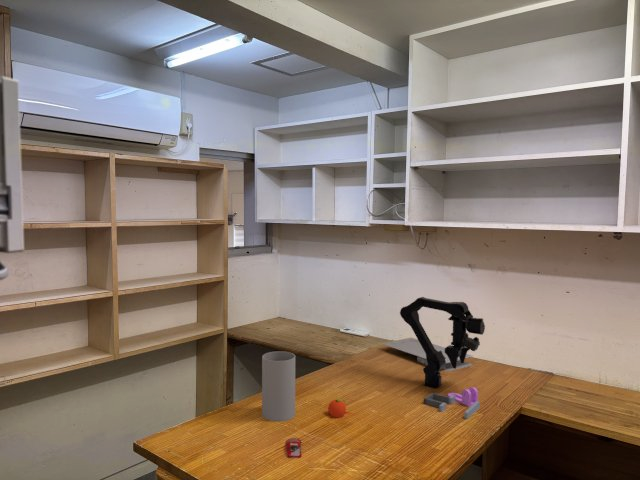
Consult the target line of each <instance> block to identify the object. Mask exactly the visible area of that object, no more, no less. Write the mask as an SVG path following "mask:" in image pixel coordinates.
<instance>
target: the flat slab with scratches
mask: <svg viewBox="0 0 640 480" xmlns="http://www.w3.org/2000/svg"><path fill="white" fill-rule="evenodd" d="M381 345H383V346H387V347H390V348H393V349H396V350H399V351H401V352H404V354H405V355H407V354H409V355H413V356H416V360H417V362H418V363H421V364H423V365H426V366H427V365H428V363H427V360H426V353H425V351H424V350H423V348H422V346H421V344H420V342H419V340H418V339H417V338H414V337H408V338H407V337H406V338H403V339H398V340H397V339H396V340H393V341H389V342H382V343H381ZM432 345H433V346H434V348H435V349H436V350H437V351H438V352H439V351H442V354H443V356H444V357H445V358H446V359H445V361H446V364H445V366H444V367H443V368H442V370H443V369H444V370H443V371H444V372H446V373H447V371H448V372H451V371H456V369H457V370H460V368H461V369H465V368H468V366H469V367H473V366H474V364H472V363H469V362H466V361H464V363H461V361H460V358H459V357H458V360H457V366H456V369H455V368H453V366H452V364H451V362H450V360H449V358H448V356H447V355H446V353H445V348H446V347H445V346H441V345H438V344H434V343H432ZM471 357H472V358H473V357H474V355H471V354H469V353H467V354H466V357H465V359H468V358H471ZM472 365H473V366H472ZM464 367H465V368H464ZM446 370H447V371H446Z"/></svg>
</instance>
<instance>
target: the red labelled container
mask: <svg viewBox="0 0 640 480" xmlns="http://www.w3.org/2000/svg"><path fill="white" fill-rule="evenodd" d="M284 444H285V449H286V451H285V452H286V457H287V459H288V458H289V459H301V457H302V456H303V452H302V444H303V442H302V441H301V439H300V438H296V437H292V438H288V439H287V440H286V441H285V443H284Z"/></svg>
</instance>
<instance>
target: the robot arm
mask: <svg viewBox="0 0 640 480" xmlns="http://www.w3.org/2000/svg"><path fill="white" fill-rule="evenodd" d="M423 307H424V308H427V309H431V310H438V311H442V312H445V313H447V314H449V315H451V316H450V317H448V318H447V319H448V321H452V332H451V333H450V336H452V341H451V342H450V344H449V345H447V346H446V347H445V353H446V355H447V356H448V358H449V360H450V362H451V364H452V366H453V368H455V369H456V366H457V360H458V357H459V358H460V361H461V363H464V362H465V361H466V360H465V359H466V358H465V357H466V354H468V352H469V351H472V352H475V351H477V350H478V349H479V346H480V345H481V344H480V338H479V337H478V336H475V337H473V338H472V337H469V334H476V335H483V334H485V329H486V325H485V322H484V318H479V317H474V316H473V314H472V313H471V311H470V310H469V306H468V304H467V303H466V302H464V301H443V300H439V299H433V298H429V297H428V298H427V297H424V296H420V297H417V298H416V299H415V300H414V301H412V302H411V303H409V304H408V305H406V306H402V307H401V308H400V311H399V315H400V316H401V318H402V319H403V321H404V322H405V323H406V324H408V325H409V326H410V327H411V330H412V331H413V333H414V335H415V337H416V339H418V340H419V342H420V344H421V346H422V348H423V350H424V351H425V353H426V360H427V363H428V365H426V366H425V367H423V369H422V370H423V372H424V374H425V375H424V383H423V386H425V387H430V388H433V389H437V388H439V387H440V386H442V385H443V383H442V375H441V371H442V370H443V369H442V368H443V367H444V366H445V364H446V361H445V359H446V358H445V357H444V356H443V354H442V351H439V352H438V351H437V350H436V349H435V348H434V346H433V345H432V344H433V343H432V341H431V339H430V338H429V336H428V334H427V332H426V331H425V328H424V327H423V325H422V323H421V321H420V314H419V311H420V310H421V309H422V308H423Z"/></svg>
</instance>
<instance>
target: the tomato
mask: <svg viewBox="0 0 640 480" xmlns="http://www.w3.org/2000/svg"><path fill="white" fill-rule="evenodd" d="M345 403H346V402H345V400H344V399H341V398H339V399H334V400H332V401H330V403H329V404H328V406H327V411H328V415H330V417H332V418H337V419H339V418H342V417H344V415H345V414H346V412H347V411H346V410H347V407H346V404H345Z"/></svg>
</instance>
